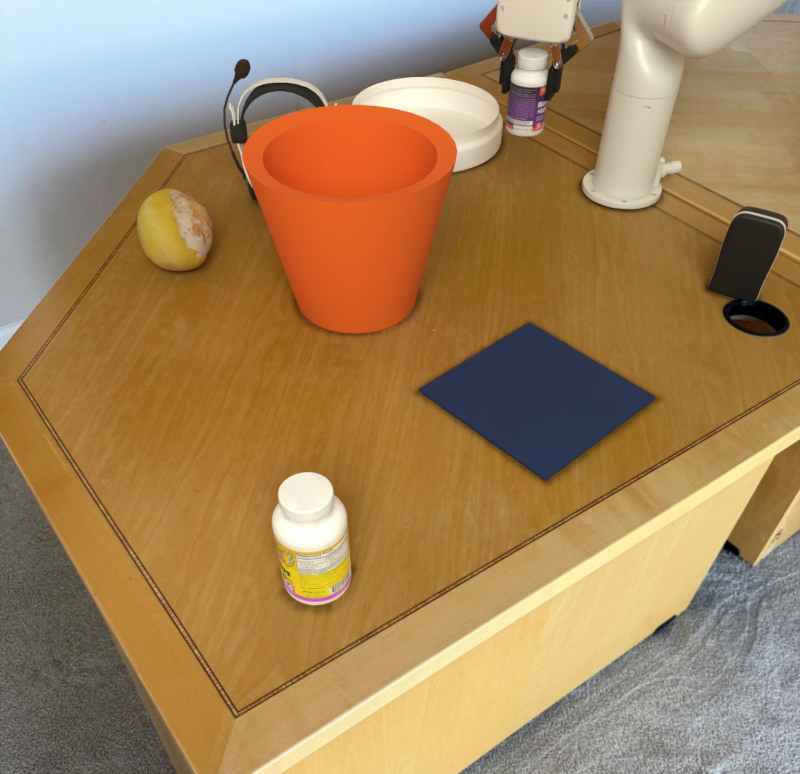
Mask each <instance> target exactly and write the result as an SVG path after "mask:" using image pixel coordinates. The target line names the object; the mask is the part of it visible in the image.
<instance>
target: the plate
mask: <svg viewBox="0 0 800 774" xmlns="http://www.w3.org/2000/svg"><path fill="white" fill-rule="evenodd" d="M351 105H370V106H381V107H387V108H394V109H398V110H402V111H406V112H410V113H414V114H416V115H419V116H422V117H424V118H427V119H429V120H430V121H432V122H434V123H436V124H438V125H440V126H441V127H442V128H443V129H444V130H446V131H447V132H448V133H449V134H450V136H451V137H452V138H453V140H454V141H455V144H456V147H457V151H458V152H457V158H456V163H455V166H454V169H453V173H458V172H464V171H467V170H470V169H472V168H476V167H478V166H480V165H482V164H485V163H486V162H487V161H489V160H490V159H492V158H493V157H494V156H495V155H496V154H497V153H498V151H499V149H500V148H501V142H502V136H503V127H504V122H503V121H504V120H503V117H502V115H501V112H500V105H499V102H498V101H497V100H496V99H495V97H494V96H493V95H492V94H491V93H490V92H488V91H486V90H485V89H483V88H481V87H478V86H476V85H473V84H470V83H468V82H464V81H461V80H456V79H451V78H444V77H434V76H417V77H416V76H410V77H402V78H395V79H389V80H385V81H381V82H378V83H374V84H373V85H371V86H368V87H366V88H364V89H363V90H362V91H360V92H358V93H357V94H356V96H355V97H354V98H353V101H352V103H351Z"/></svg>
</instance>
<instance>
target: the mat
mask: <svg viewBox="0 0 800 774" xmlns="http://www.w3.org/2000/svg"><path fill="white" fill-rule="evenodd" d="M418 392H419V393H420V394H422V395H423V396H425V397H426V398H427V399H429V400H430V401H432V402H433V403H435V404H436V405H437V406H438V407H440V408H442V409H443V410H445V411H446V412H447V413H449V414H450V415H452V416H453V417H454V418H455V419H457V420H459V421H460V422H462V423H463V424H464V425H466V426H467V427H468V428H470V429H471V430H473V431H474V432H476V433H477V434H479V435H480V436H481V437H483V439H485V440H487V441H488V442H489V443H491V444H492V445H494V446H495V447H496V448H498V449H499V450H501V451H502V452H503V453H505V454H507V455H508V456H509V457H511V458H512V459H513V460H515V461H516V462H518V463H519V464H521V465H522V466H524V467H525V468H526V469H528V470H529V471H530V472H532V473H534V474H535V475H536V476H538V477H539V478H540V479H541V480H543V481H545V482H546V481H548V480H549V479H550V478H552V477H553V476H554V475H556V474H557V473H558V472H560V471H561V470H563V469H564V468H565V467H566V466H568V465H569V464H570V463H572V462H573V461H575V460H576V459H577V458H579V457H580V456H582V455H583V454H585V452H586V451H588V450H589V449H591V448H592V447H593V446H595V445H596V444H597V443H599V442H600V441H601V440H602V439H604V438H605V437H607V436H608V435H609V434H611V433H612V432H613V431H615V430H616V429H617V428H619V427H620V426H622V425H623V424H624V423H625V422H627V421H628V420H629V419H631V418H632V417H633V416H635V415H636V414H638V413H639V412H640V411H641V410H643V409H645V407H647V406H648V405H650V404H651V403H652V402H653V401H656V396H655V395H653V394H652V393H650V392H649V391H647V390H645V389H643V388H642V387H640V386H638V385H636V384H635V383H634V382H631V381H630V380H628V379H627V378H625V377H623V376H622V375H620V374H618V373H616V372H614V371H613V370H611V369H610V368H608V367H606V366H604V365H603V364H601V363H600V362H598V361H596V360H594V359H593V358H591V357H589V356H588V355H586V354H584V353H583V352H581V351H580V350H577V349H576V348H574V347H573V346H570V345H569V344H567V343H565V342H564V341H562V340H560V339H559V338H557V337H555V336H554V335H552V334H550V333H549V332H547V331H545V330H543V329H542V328H541V327H538V326H537V325H535V324H534V323H532V322H530V321H529V322H527V323H526V324H524V325H522V326H521V327H519V328H518V329H515V330H514V331H512V332H510V333H509V334H507V335H506V336H504V337H503V338H501V339H499V340H497V341H496V342H494V343H492V344H491V345H490V346H487V347H486V348H484V349H483V350H481V351H479V352H478V353H476V354H475V355H472V356H471V357H469V358H468V359H466V360H465V361H463V362H461V363H459V364H457V365H456V366H454V367H453V368H451V369H449V370H448V371H446V372H445V373H443V374H441V375H440V376H438V377H436V378H434V379H433V380H431V381H429V382H428V383H426V384H424V385H423V386H421V387H419V389H418Z"/></svg>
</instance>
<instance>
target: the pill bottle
mask: <svg viewBox="0 0 800 774" xmlns="http://www.w3.org/2000/svg"><path fill="white" fill-rule="evenodd" d="M548 61H549V52H548V51H546V50H545V49H544V48H543V49H542V48H537V47H526V48H522V49H519V51H518V53H517V57H516V65H517V67H515V69H514V70H513V71H512V73H511V77H510V87H509V91H508V96H507V97H508V98H507V106H506V108H507V109H506V119H505V129H506V131H507V132H508V133H509V134H511V135H514V136H517V137H523V138H527V137H528V138H529V137H534V136H538V135H540V134H541V133H542V132H543V131H544V127H545V121H546V114H547V107H548V106H547V105H548V101H546V99H545V93H546V85H547V77H548V69H547V65H548Z"/></svg>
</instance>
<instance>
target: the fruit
mask: <svg viewBox="0 0 800 774" xmlns="http://www.w3.org/2000/svg"><path fill="white" fill-rule="evenodd" d="M136 229H137V236H138V240H139V244H140V246H141V248H142V250H143V252H144V254H145V255H146V256H147V258H148V259H149V260H150V261H151V262H152V263H153V264H155V265H156V266H158V267H159V268H161V269H163V270H167V271H170V272H171V271H172V272H186V271H191V270H195V269H197V268H199V267H201V265H203V264H204V263H205V261H206V260H207V256H208V253H209V251H210V249H211V247H212V243H213V237H214V236H213V235H214V234H213V230H214V224H213V222H212V219H211V217H210V215H209V212H208V210H207V207H205V206H204V205H202V204H201V203H199V202H198V201H197V200H196V199H195V197H192V196H191V195H188V194H186V193H183V192H182V191H180V190H178V189H175V188H163V189H159V190H157V191H155V192H153V193H152V194H151V195H149V196H147V198H145V200H144V201H143V202H142V203H141V206H140V208H139V210H138V213H137V218H136Z"/></svg>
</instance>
